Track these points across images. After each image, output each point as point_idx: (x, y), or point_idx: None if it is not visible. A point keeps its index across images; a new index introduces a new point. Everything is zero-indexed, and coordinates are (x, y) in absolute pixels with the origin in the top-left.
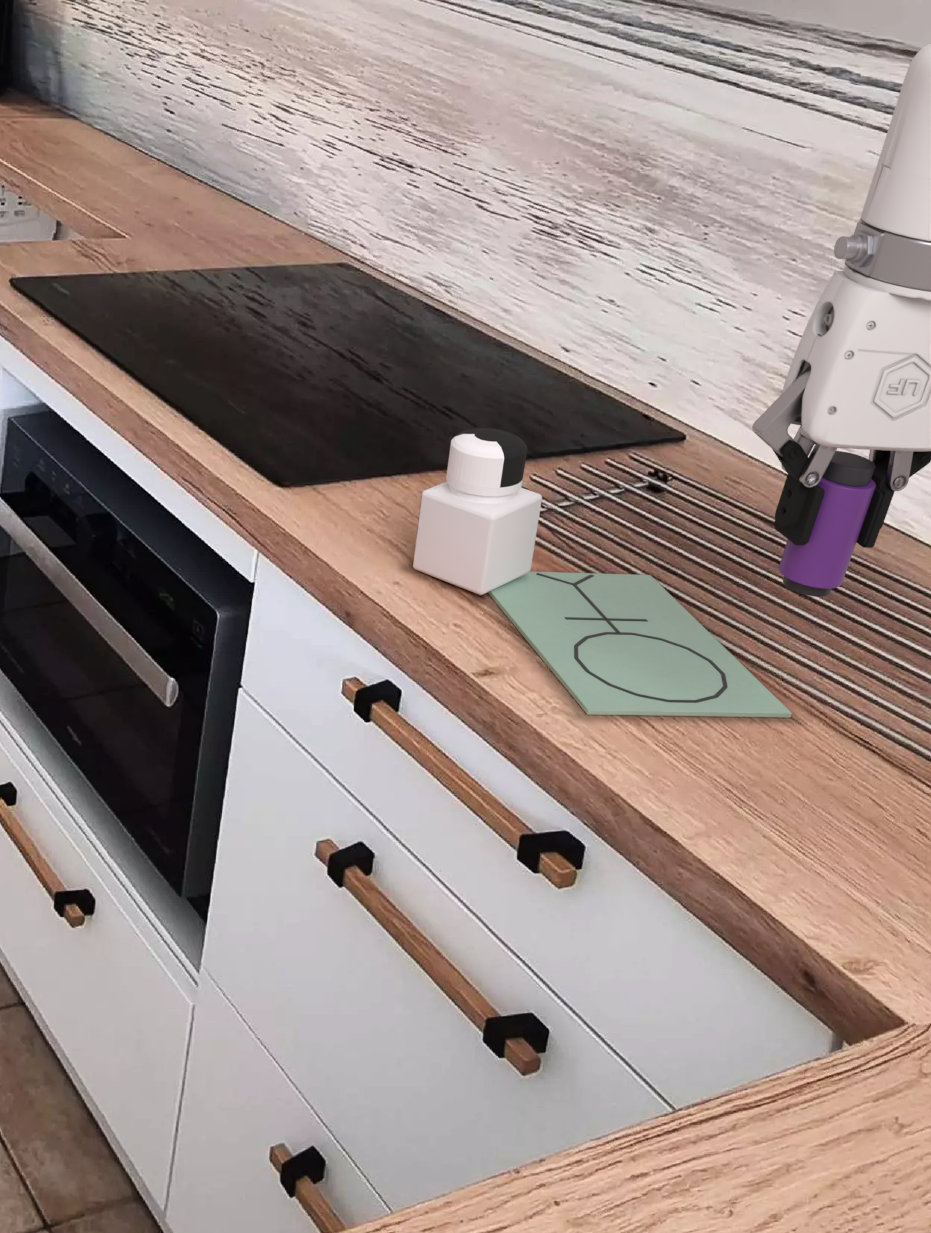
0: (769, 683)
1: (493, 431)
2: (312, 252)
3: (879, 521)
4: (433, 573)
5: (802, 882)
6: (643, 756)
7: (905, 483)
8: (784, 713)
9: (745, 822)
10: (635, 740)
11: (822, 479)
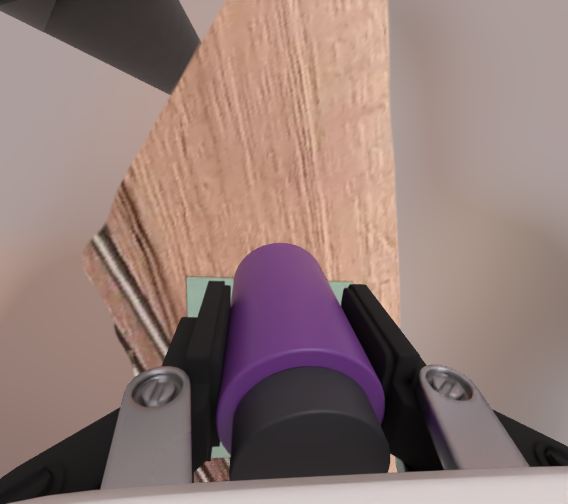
0: (176, 325)
1: None
2: None
3: (209, 307)
4: None
5: (328, 25)
6: (343, 225)
7: (133, 387)
8: (193, 278)
9: (320, 125)
10: (335, 247)
11: (378, 402)
